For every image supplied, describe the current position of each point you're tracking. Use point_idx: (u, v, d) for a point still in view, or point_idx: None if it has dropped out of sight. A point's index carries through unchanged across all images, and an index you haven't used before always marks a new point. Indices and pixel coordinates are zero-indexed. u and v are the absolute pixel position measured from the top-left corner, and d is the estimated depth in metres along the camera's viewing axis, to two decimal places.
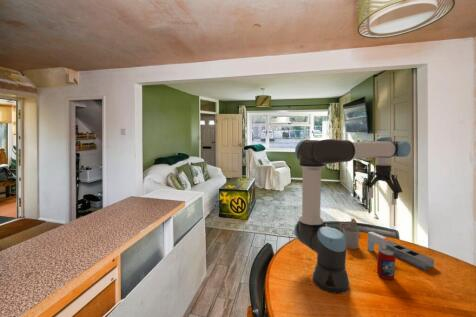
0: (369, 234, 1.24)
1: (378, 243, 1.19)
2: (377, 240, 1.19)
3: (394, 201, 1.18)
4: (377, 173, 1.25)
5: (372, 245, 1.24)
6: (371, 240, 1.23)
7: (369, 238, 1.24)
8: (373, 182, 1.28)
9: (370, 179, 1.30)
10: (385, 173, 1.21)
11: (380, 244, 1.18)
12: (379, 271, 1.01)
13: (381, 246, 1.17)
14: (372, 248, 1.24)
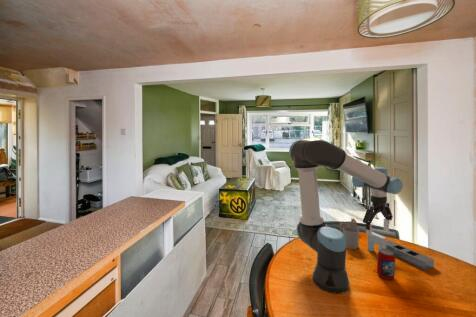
0: None
1: (378, 243, 1.19)
2: (377, 240, 1.19)
3: (368, 232, 1.18)
4: None
5: (372, 245, 1.24)
6: (371, 240, 1.23)
7: (369, 238, 1.24)
8: None
9: (386, 210, 1.23)
10: None
11: (380, 244, 1.18)
12: (379, 271, 1.01)
13: (381, 246, 1.17)
14: (372, 248, 1.24)
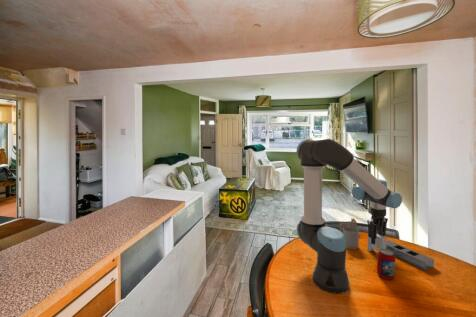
0: None
1: (378, 243, 1.19)
2: (377, 240, 1.19)
3: (373, 246, 1.21)
4: None
5: None
6: None
7: (369, 238, 1.24)
8: None
9: None
10: None
11: (380, 244, 1.17)
12: (379, 271, 1.01)
13: (381, 246, 1.17)
14: None
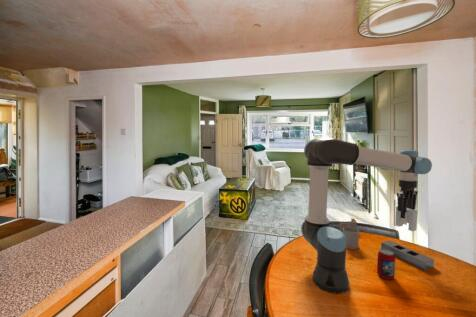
0: (397, 208, 1.18)
1: (408, 217, 1.13)
2: (407, 214, 1.13)
3: (403, 220, 1.15)
4: None
5: None
6: (400, 214, 1.17)
7: (397, 212, 1.18)
8: None
9: None
10: None
11: (411, 217, 1.11)
12: (379, 271, 1.01)
13: (412, 219, 1.11)
14: (401, 223, 1.18)
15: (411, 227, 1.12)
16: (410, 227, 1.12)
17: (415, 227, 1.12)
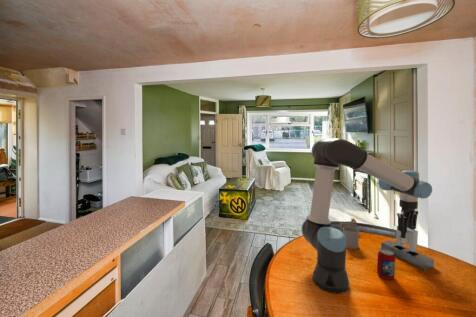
0: None
1: (409, 237, 1.13)
2: (408, 234, 1.14)
3: (403, 240, 1.15)
4: None
5: None
6: (400, 234, 1.17)
7: (398, 232, 1.18)
8: None
9: None
10: None
11: (411, 238, 1.12)
12: (379, 271, 1.01)
13: (412, 240, 1.12)
14: None
15: (411, 247, 1.12)
16: (410, 247, 1.13)
17: (415, 247, 1.13)
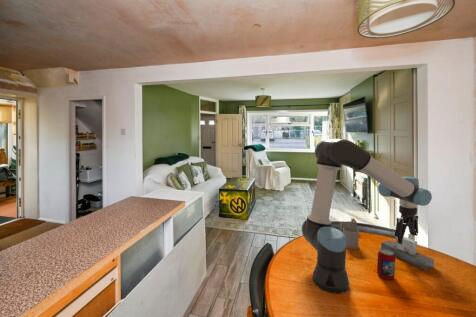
0: (397, 238, 1.19)
1: (408, 247, 1.14)
2: (407, 244, 1.14)
3: (400, 246, 1.15)
4: None
5: None
6: None
7: (397, 242, 1.19)
8: (408, 226, 1.18)
9: None
10: None
11: (411, 248, 1.13)
12: (379, 271, 1.01)
13: (411, 250, 1.12)
14: None
15: None
16: None
17: None
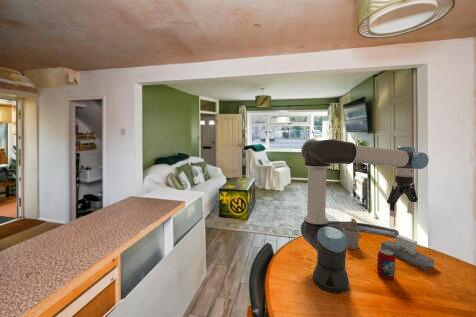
0: (397, 238, 1.19)
1: (408, 247, 1.14)
2: (407, 244, 1.14)
3: (392, 213, 1.14)
4: None
5: (400, 249, 1.19)
6: (400, 244, 1.18)
7: (397, 242, 1.19)
8: (406, 194, 1.18)
9: (410, 192, 1.18)
10: None
11: (411, 248, 1.13)
12: (379, 271, 1.01)
13: (411, 250, 1.12)
14: None
15: None
16: None
17: None
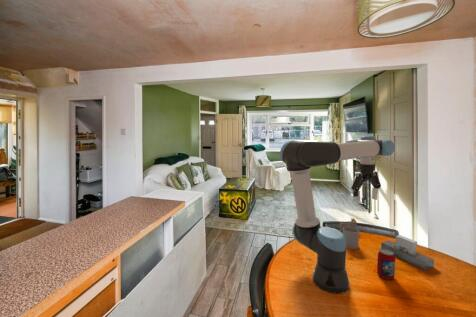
0: (397, 238, 1.19)
1: (408, 247, 1.14)
2: (407, 244, 1.14)
3: (356, 198, 1.22)
4: None
5: (400, 249, 1.19)
6: (400, 244, 1.18)
7: (397, 242, 1.19)
8: (370, 181, 1.26)
9: (374, 179, 1.26)
10: None
11: (411, 248, 1.13)
12: (379, 271, 1.01)
13: (411, 250, 1.12)
14: None
15: None
16: None
17: None
